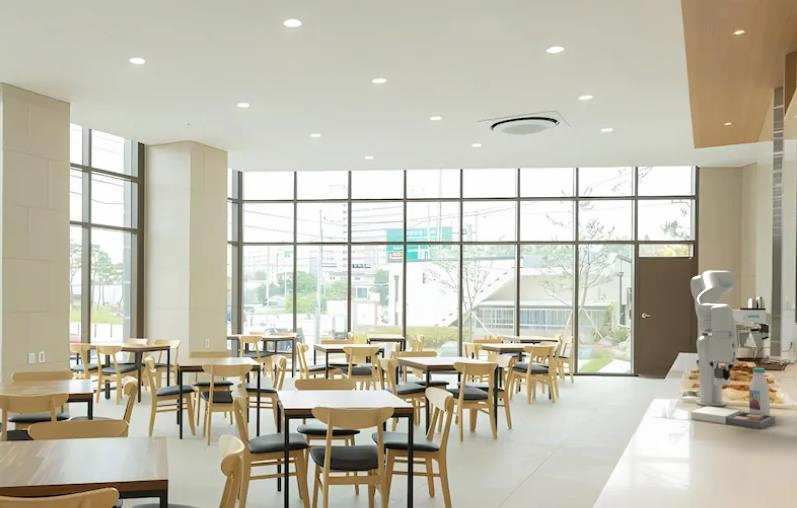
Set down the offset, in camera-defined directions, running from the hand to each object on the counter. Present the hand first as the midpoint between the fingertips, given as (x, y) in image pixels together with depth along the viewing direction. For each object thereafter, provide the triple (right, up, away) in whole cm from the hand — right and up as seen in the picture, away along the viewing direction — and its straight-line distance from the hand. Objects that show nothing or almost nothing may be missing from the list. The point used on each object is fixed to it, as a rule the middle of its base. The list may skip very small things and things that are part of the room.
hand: (722, 378), depth 299 cm
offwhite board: (-2, -17, +1) cm, 17 cm away
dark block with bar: (0, -3, 0) cm, 3 cm away
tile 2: (+11, -14, -6) cm, 19 cm away
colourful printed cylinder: (+19, -17, +7) cm, 27 cm away
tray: (+8, -17, -8) cm, 20 cm away
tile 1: (+3, -16, -10) cm, 19 cm away
